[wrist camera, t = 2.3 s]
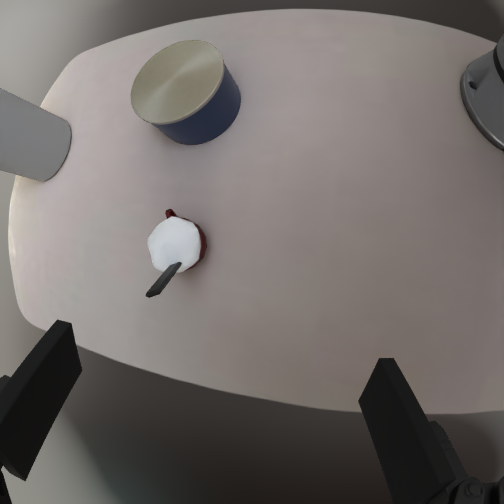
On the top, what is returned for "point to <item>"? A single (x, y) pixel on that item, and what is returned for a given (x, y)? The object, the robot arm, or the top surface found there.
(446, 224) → the top surface
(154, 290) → the cocoa
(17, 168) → the cylinder vase
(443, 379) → the top surface
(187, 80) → the beige and blue cylinder
